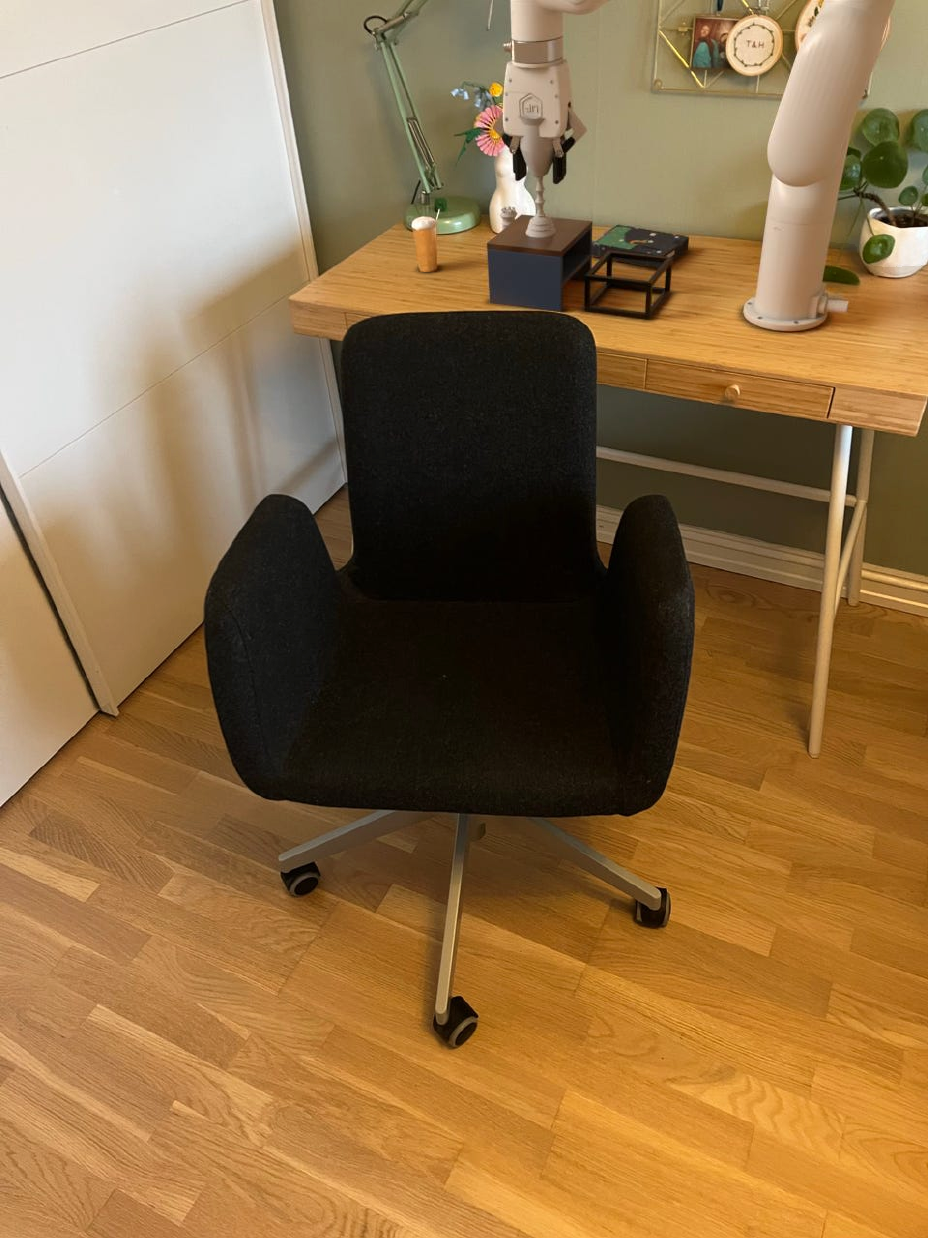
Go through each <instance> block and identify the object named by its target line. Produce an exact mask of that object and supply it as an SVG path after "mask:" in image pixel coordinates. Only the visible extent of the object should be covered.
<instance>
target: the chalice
mask: <svg viewBox="0 0 928 1238" xmlns="http://www.w3.org/2000/svg"><path fill="white" fill-rule="evenodd" d="M519 118H520V119H521V121H522V122H523V123H524V131H525V136H524V137H520V145H521V151H522V154H523V157H524V160H525V162H526V165H527V170H528V171H529V174H530V175H531V176H533V177H535V178H536V187H535V189H534V191H535V192H536V199H535V201H534V203H535V204H536V207H537V211H536V214H535V215H533V217H532V218H531V219H530V221H529V222H530V223H529V225H528V229H527V230H526V235H528V236H530V237H538V238H539V237H548V236H551V235H553V234H555V233H556V229H555V228H554V224H553V223H552V219H551V218H550V217H551V216H549V215H548V214H547V215H546V213H545V212H544V205H545V203H546V199H545V198H544V191H545V189H546V188H545V186H544V181H543V180H544V177H545V176H547V175H548V174H549V172H550V170H551V167H552V166H553V157H555V150H554V147H553V144H552V141H551V139H544V138H542V137H540V134H539V125H540V124H541V123H542V122H543V120H544V119H545V118H540V119H527V118H521V117H519Z"/></svg>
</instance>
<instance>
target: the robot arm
mask: <svg viewBox="0 0 928 1238" xmlns="http://www.w3.org/2000/svg"><path fill="white" fill-rule="evenodd" d="M610 1H611V0H510V1H509V2H510V28H511V37H510V38H509V39H510V40H509V41H506V40H505V41H504V43H503V50H504V52H507V53H509V54H510V59H512V60H511V61H510V60H509V61H508V62H507V63H506V67H505V68H506V69H505V75H504V83H503V96H502V103H503V104H502V112H501V114H500V115H499V117H498V118H497V119H496V120H495V122H494V123H493V125H492V130H493V131H494V132H495V134H497V135H498V136H499V138H501V141H502V142H503V143H504V145H505V146H506V147H507V149H508V151H509V153H510V154H511V155H512V172H513V174H514V180H515V182H520V181H521V180H523V179H524V178H525V177H527V174H528V167H527V165H526V162H525V160H524V157H523V154H522V151H521V145H520V137H524V136H525V131H524V123H523V122H522V121H521V119H520V118H519V117H521V118H527V119H540V118H545V119H544V120H543V122H542V123H541V124H540V125H539V134H540V137H542V138H544V139H551V141H552V144H553V147H554V150H555V157H553V163H552V184H554V185H559V184H560V183H561V182H562V181H563V180H564V179H565V177H566V175H567V153H569V151H570V150H571V149H572V148H573V147H574V146H575V145H576V143H577V142H578V141H580V139H581V138H582V137H583V136H585V134H586V133H587V131H588V129H587V127H586V126H585V125H584V123H583V122H582V120H580V118H579V117H578V115H577V114H576V113H575V112H574V106H573V104H574V103H573V90H572V81H571V75H570V69H569V64H568V59H565V58H564V14H568V15H569V14H570V15H576V16H583V15H584V16H585V15H588V14H591V13H593V12H595V11H596V10H598V9H600V8H601V7H603V6H604V5H605V4H606V3H608V2H610ZM895 3H896V0H823V2H822V4H821V7H820V10H819V12H818V15H817V16H816V19H815V20H814V22H813V23H812V25H811V27H810V28H809V29H808V31H807V32H806V33H805V36H804V37H803V39H802V41H801V43H800V45H799V48H798V50H797V53H796V56H795V59H794V61H793V64H792V67H791V70H790V73H789V76H788V79H787V82H786V85H785V89H784V92H783V94H782V97H781V98H782V99H781V101H780V104H779V107H778V110H777V112H776V113H777V114H776V117H775V119H774V123H773V126H772V129H771V132H770V135H769V138H768V141H767V149H766V156H767V162H768V163H767V164H768V166H769V168H770V171H771V173H772V177H771V183H770V188H769V196H768V201H767V202H768V203H767V209H766V216H765V224H764V231H763V237H762V246H761V253H760V261H759V268H758V276H757V283H756V289H755V290H756V291H755V295H754V296H753V297H751V298H750V299H748V300H747V301H746V302H745V303H744V305H743V317H744V318H745V319H746V320H747V321H748V322H749V323H751V324H753V325H755V326H758V327H760V328H763V329H766V330H771V331H779V332H781V331H782V332H797V331H805V330H809V329H812V328H815V327H818V326H819V325H821V324H823V323H824V322H825V321H826V319H827V317H828V312H829V313H833V314H839V315H847V313H848V310H849V305H850V301H849V300H844V295H840V294H829V291H826V288H827V283H824V282H823V279H824V273H825V268H826V263H827V257H828V251H829V246H830V240H831V234H832V230H833V229H832V228H833V225H834V223H833V222H834V218H835V215H836V210H837V203H838V198H839V192H840V189H841V188H840V187H841V182H842V178H843V172H844V168H845V163H846V158H847V152H848V148H849V144H850V138H851V134H852V133H851V132H852V125H853V123H854V120H855V118H856V115H857V112H858V109H859V108H860V104H861V102H862V100H863V96H864V94H865V92H866V88H867V86H868V83H869V81H870V78H871V76H872V72H873V70H874V67H875V65H876V63H877V60H878V58H879V55H880V52H881V48H882V44H883V38H884V34H885V31H886V28H887V25H888V22H889V19H890V16H891V13H892V11H893V8H894V5H895ZM571 129H572V134H571V135H570V136H569V137H568V138H567V135H566V132H569V131H570V130H571Z"/></svg>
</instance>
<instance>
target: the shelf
mask: <svg viewBox="0 0 928 1238" xmlns="http://www.w3.org/2000/svg"><path fill="white" fill-rule="evenodd" d="M533 216H534V215H532V214H520V215H519V216H518V217H517V218H515V220H514V221H513V222H512V223H511V224H509V225H508V226H507V227H506V228H505V229H503V230H502V229H501V231H500V232H498V233H497V234H496V235H494V237H492V238H491V239H490V240H489V241H488V242H487V243H486V252H487V253H486V254H487V271H488V273H487V274H488V286H489V287H488V288H489V290H488V291H489V303H493V304H500V305H507V306H514V307H522V308H528V309H536V310H543V311H551V312H558V313H562V312H563V310H564V307H563V306H564V291H563V289H564V286H565V285H566V284H567V283H568V282H569V281H570V280H574V281H583V282H585V274H586V273H587V272H588V271H589V270H590V269H591V268H592V267H593V266H592V264H593V263H592V260H593V255H592V241H593V220H584V219H574V218H563V217H553V216H549V217H550V218H551V219H552V223H553V224H554V228H555V229H556V233H555V234H553V235H551V236H548V237H539V238H538V237H530V236H528V235H526V230H527V229H528V225H529V223H530V222H529V221H530V219H531V218H532V217H533Z"/></svg>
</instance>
